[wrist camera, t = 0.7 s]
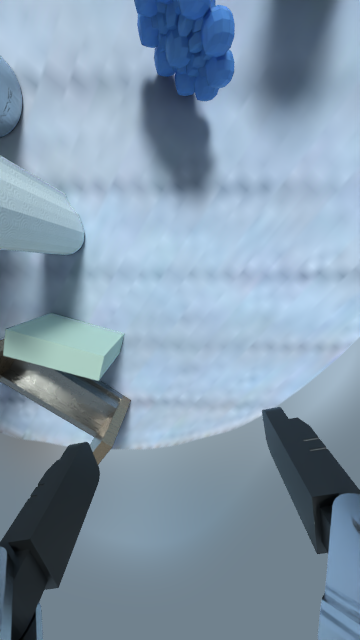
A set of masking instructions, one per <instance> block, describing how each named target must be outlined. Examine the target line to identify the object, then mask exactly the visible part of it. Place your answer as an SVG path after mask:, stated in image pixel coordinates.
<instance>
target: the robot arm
mask: <svg viewBox="0 0 360 640" xmlns="http://www.w3.org/2000/svg"><path fill="white" fill-rule="evenodd" d="M21 111H22V93H21V89H20V85H19V82H18V80H17V78H16V75H15V74H14V72H13V70H12V69H11V67H10V66H9V65H8V64H7V63H6V61H5V60H4V59H3V58H2V57H1V56H0V137H2V136H5V135H6V134H8V133H10V132H11V131H12V130H13V129H14V127H15V126H16V124H17V123H18V121H19V118H20V115H21ZM262 415H263V421H264V427H265V434H266V440H267V444H268V447H269V450H270V453H271V455H272V457H273V459H274V461H275V464H276V466H277V468H278V470H279V472H280V475H281V477H282V479H283V481H284V483H285V486H286V488H287V490H288V492H289V494H290V496H291V499H292V501H293V503H294V505H295V507H296V509H297V511H298V514H299V516H300V518H301V520H302V522H303V524H304V527H305V529H306V531H307V533H308V535H309V538H310V539H311V542H312V544H313V546H314V548H315V551H316V553H317V554H321V553H328V564H327V575H326V586H325V593H324V595H323V597H322V602H321V610H320V619H319V628H318V640H360V490H359V489H358V488H357V486H356V485H355V484H354V482H353V481H352V480H351V479H350V477H349V476H348V475H347V473H346V472H345V471H344V469H343V468H342V467H341V466H340V464H339V463H338V462H337V460H336V459H335V458H334V457H333V455H332V454H331V453H330V451H329V450H328V449H326V446H325V445H324V444H323V443H322V441H321V440H320V439H319V438H318V436H317V435H316V434H315V432H314V431H313V430H312V428H311V427H310V426H309V425H307V424H306V423H305V422H303V421H302V420H300V419H299V418H293V419H288V417H287V416H286V414H285V413H284V411H283V410H282V409H281V408H280V407H277V408H271V409H266V410H262ZM99 476H100V472H99V467H98V464H97V461H96V459H95V457H94V454H93V452H92V449H91V447H90V445H89V443H88V442H83V443H78V444H73V445H69V446H68V447H67V449H66V450H65V452H64V453H63V455H62V457H61V458H60V460H57V461H56V462H55V463H54V464H53V465H52V466H51V467H50V468H49V469H48V470H47V471H46V473H45V474H44V476H43V477H42V479H41V480H40V482H39V483H38V487H36V488H35V490H34V491H33V493H32V494H31V497H30V499H28V501H27V502H26V503H25V505H24V507H23V508H22V510H21V511H20V513H19V514H18V516H17V517H16V519H15V520H14V522H13V524H12V525H11V527H10V528H9V530H8V531H7V533H6V534H5V536H4V538H3V539H2V540H1V542H0V640H43V630H42V610H41V605H40V603H39V601H40V598H41V596H42V594H43V591H44V590H45V589H53V588H58V587H59V585H60V582H61V579H62V577H63V574H64V572H65V569H66V567H67V564H68V561H69V559H70V556H71V553H72V551H73V548H74V545H75V543H76V540H77V537H78V535H79V532H80V530H81V527H82V524H83V522H84V519H85V517H86V514H87V511H88V509H89V506H90V504H91V501H92V498H93V496H94V493H95V490H96V487H97V485H98V482H99Z"/></svg>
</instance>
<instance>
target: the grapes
mask: <svg viewBox="0 0 360 640" xmlns="http://www.w3.org/2000/svg"><path fill="white" fill-rule="evenodd" d="M134 2H135V6H136V10H137V13H138V23H137V25H138V31H139V36H140V40H141V44H142V45H144V46H146V47H151V48H155V47H156V48H155V53H154V60H155V66H156V70H157V73H158V75H160V76H165V77H168V76H171V75H174V73H175V72H176V73H175V85H176V89H177V92H178V95H182V96H189V95H192V94H193V93H194V92H195V95H196V98H197V100H200V101H209V100H212V99H213V98H214V97H215V96H216V95H217V92H218V90H219V88H222V87H225V86H226V85H227V84H228V83H229V82H230V81H231V79H232V76H233V74H234V59H233V54H232V52H231V51H230V50H229V49H230V48H231V45H232V42H233V39H234V27H235V24H234V20H233V15H232V13H231V11H230V10H229V9H228V8H227V7H226V6H221V5H217V6H215V0H134Z"/></svg>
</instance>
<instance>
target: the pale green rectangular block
mask: <svg viewBox="0 0 360 640" xmlns="http://www.w3.org/2000/svg"><path fill="white" fill-rule="evenodd" d="M123 337H124V333H121V332H117V331H114V330H110V329H107V328H103V327H99V326H96V325H92V324H89V323H85V322H82V321H78V320H74V319H71V318H67V317H64V316H60V315H57V314H53V313H50V314H47V315H44V316H41V317H38V318H36V319H33V320H30V321H27V322H24V323H22V324H19V325H16V326H13V327H10V328H7V329H5V340H4V352H3V355H4V356H7V357H11V358H15V359H18V360H22V361H26V362H30V363H33V364H37V365H41V366H45V367H48V368H52V369H56V370H59V371H63V372H67V373H71V374H74V375H78V376H82V377H85V378H89V379H93V380H97V381H99V380H100V379H101V377H102V376H103V375H104V373H105V372H106V371H107V369H108V368H109V367H110V365H111V364H112V363H113V361H114V360H115V359H116V357H117V356H118V355H119V353H120V350H121V346H122V342H123Z"/></svg>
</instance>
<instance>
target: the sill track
mask: <svg viewBox="0 0 360 640" xmlns="http://www.w3.org/2000/svg"><path fill="white" fill-rule="evenodd" d="M4 340H5V339H3V340H0V382H2V383H4V384H5V385H7V386H9V387H10V388H12V389H14V390H16V391H17V392H19V393H21V394H22V395H24V396H26V397H27V398H29V399H31V400H32V401H34V402H36V403H38V404H39V405H41V406H43V407H44V408H46V409H48V410H49V411H51V412H53V413H54V414H56V415H58V416H60V417H61V418H63V419H65V420H66V421H68V422H70V423H71V424H73V425H75V426H76V427H78V428H80V429H82V430H83V431H85V432H87V433H88V434H90V435H92V436H93V437H94V439H93V440H92V442H91V444H90V447H91V449H92V452H93V454H94V457H95V459H96V461H97V464H99V463H100V462H101V460H102V459H103V458H104V457H105V455H106V454H107V453H108V452H109V450H110V449H111V448H112V446H113V444H114V441H115V439H116V436H117V434H118V431H119V429H120V426H121V424H122V421H123V419H124V417H125V414H126V412H127V409H128V407H129V404H130V402H131V400H130V399H128V398H127V397H125V396H123V395H122V394H120V393H119V392H117V391H115V390H114V389H112V388H111V387H109V386H108V385H106V384H104V383H103V382H101V381H100V380H99V381H97V380H93V379H89V378H85V377H82V376H78V375H74V374H71V373H67V372H63V371H59V370H56V369H52V368H48V367H45V366H41V365H37V364H33V363H30V362H26V361H22V360H18V359H15V358H11V357H7V356H4V355H3V352H4Z"/></svg>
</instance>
